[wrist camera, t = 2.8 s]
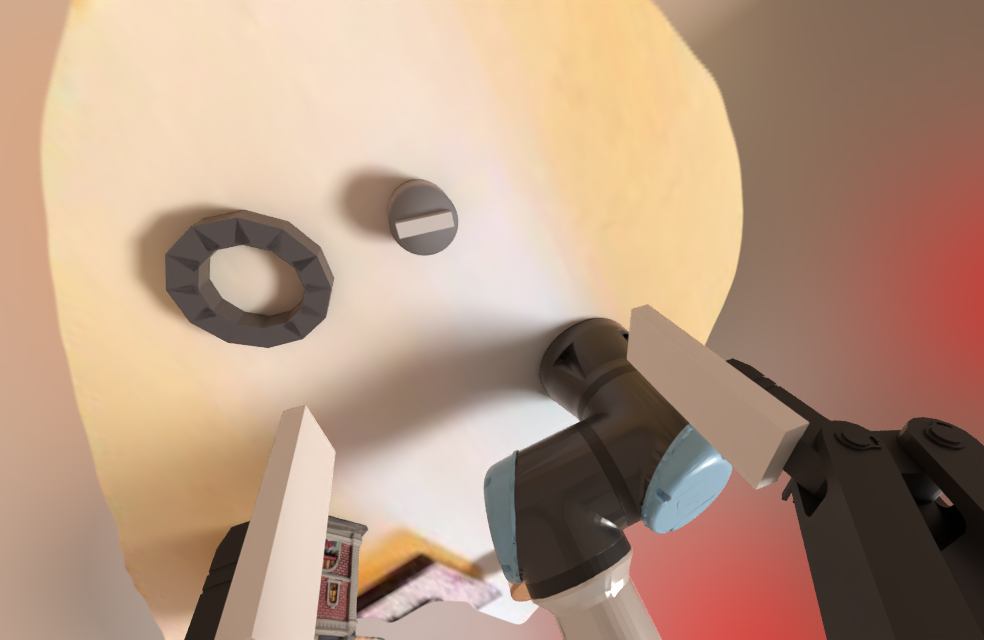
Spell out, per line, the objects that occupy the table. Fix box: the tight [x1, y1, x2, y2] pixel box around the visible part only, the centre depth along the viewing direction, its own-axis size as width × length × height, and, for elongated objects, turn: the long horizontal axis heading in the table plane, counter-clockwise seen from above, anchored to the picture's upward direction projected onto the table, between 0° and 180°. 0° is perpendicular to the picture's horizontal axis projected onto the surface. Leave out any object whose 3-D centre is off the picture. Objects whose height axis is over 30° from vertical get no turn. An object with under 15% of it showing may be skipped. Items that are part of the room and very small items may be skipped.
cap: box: [388, 180, 458, 255], centre depth 34 cm, size 6×6×5 cm
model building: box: [314, 516, 368, 640], centre depth 49 cm, size 19×14×20 cm
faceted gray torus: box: [166, 210, 334, 348], centre depth 34 cm, size 13×13×2 cm
